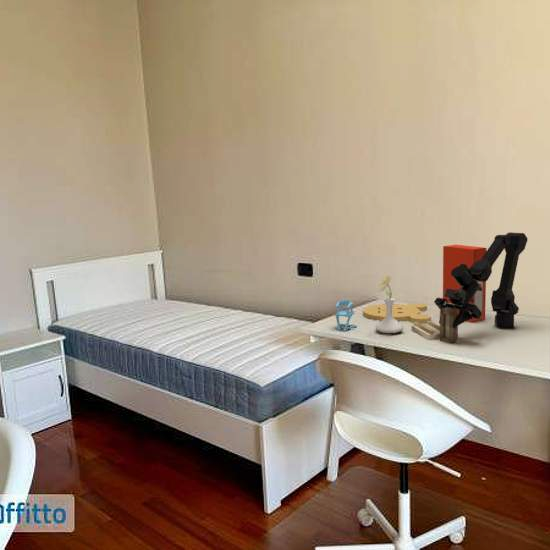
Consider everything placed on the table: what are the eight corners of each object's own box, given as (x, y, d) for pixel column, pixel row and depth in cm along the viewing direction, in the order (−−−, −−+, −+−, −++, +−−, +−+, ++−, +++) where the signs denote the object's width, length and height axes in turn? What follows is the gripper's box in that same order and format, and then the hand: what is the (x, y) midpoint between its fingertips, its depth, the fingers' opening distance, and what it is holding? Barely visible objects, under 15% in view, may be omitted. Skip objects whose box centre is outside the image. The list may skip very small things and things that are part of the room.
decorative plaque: (361, 323, 234) (431, 325, 228) (361, 318, 233) (431, 319, 227) (364, 307, 264) (426, 308, 258) (364, 302, 263) (426, 303, 257)
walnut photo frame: (445, 339, 205) (445, 307, 203) (457, 342, 200) (458, 310, 198) (439, 340, 204) (440, 308, 202) (452, 344, 199) (452, 311, 196)
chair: (332, 330, 224) (332, 303, 221) (339, 325, 231) (339, 298, 229) (350, 332, 220) (349, 304, 218) (356, 327, 227) (356, 300, 225)
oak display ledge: (431, 328, 221) (431, 320, 220) (450, 337, 206) (450, 329, 206) (411, 330, 219) (411, 322, 219) (428, 340, 205) (428, 331, 204)
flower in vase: (376, 327, 225) (376, 269, 221) (403, 328, 222) (404, 270, 218) (373, 336, 213) (373, 275, 209) (402, 337, 210) (402, 275, 206)
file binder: (471, 323, 227) (473, 249, 221) (442, 315, 242) (443, 245, 237) (485, 320, 230) (487, 247, 225) (455, 312, 245) (456, 244, 240)
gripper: (437, 277, 208) (417, 308, 204) (477, 283, 192) (456, 317, 188) (451, 294, 213) (431, 325, 209) (490, 301, 197) (470, 335, 194)
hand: (446, 325), depth 200 cm, fingers closed on walnut photo frame, 6 cm apart
